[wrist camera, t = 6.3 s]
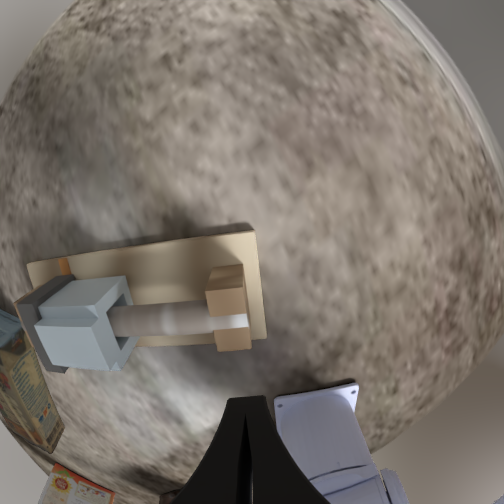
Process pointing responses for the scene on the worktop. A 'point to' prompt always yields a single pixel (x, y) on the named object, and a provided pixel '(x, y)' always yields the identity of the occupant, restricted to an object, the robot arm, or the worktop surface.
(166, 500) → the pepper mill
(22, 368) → the beverage carton
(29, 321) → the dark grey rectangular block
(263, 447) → the robot arm
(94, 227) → the worktop surface
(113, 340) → the sleeve
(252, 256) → the pipe stand
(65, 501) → the cracker box
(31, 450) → the worktop surface
